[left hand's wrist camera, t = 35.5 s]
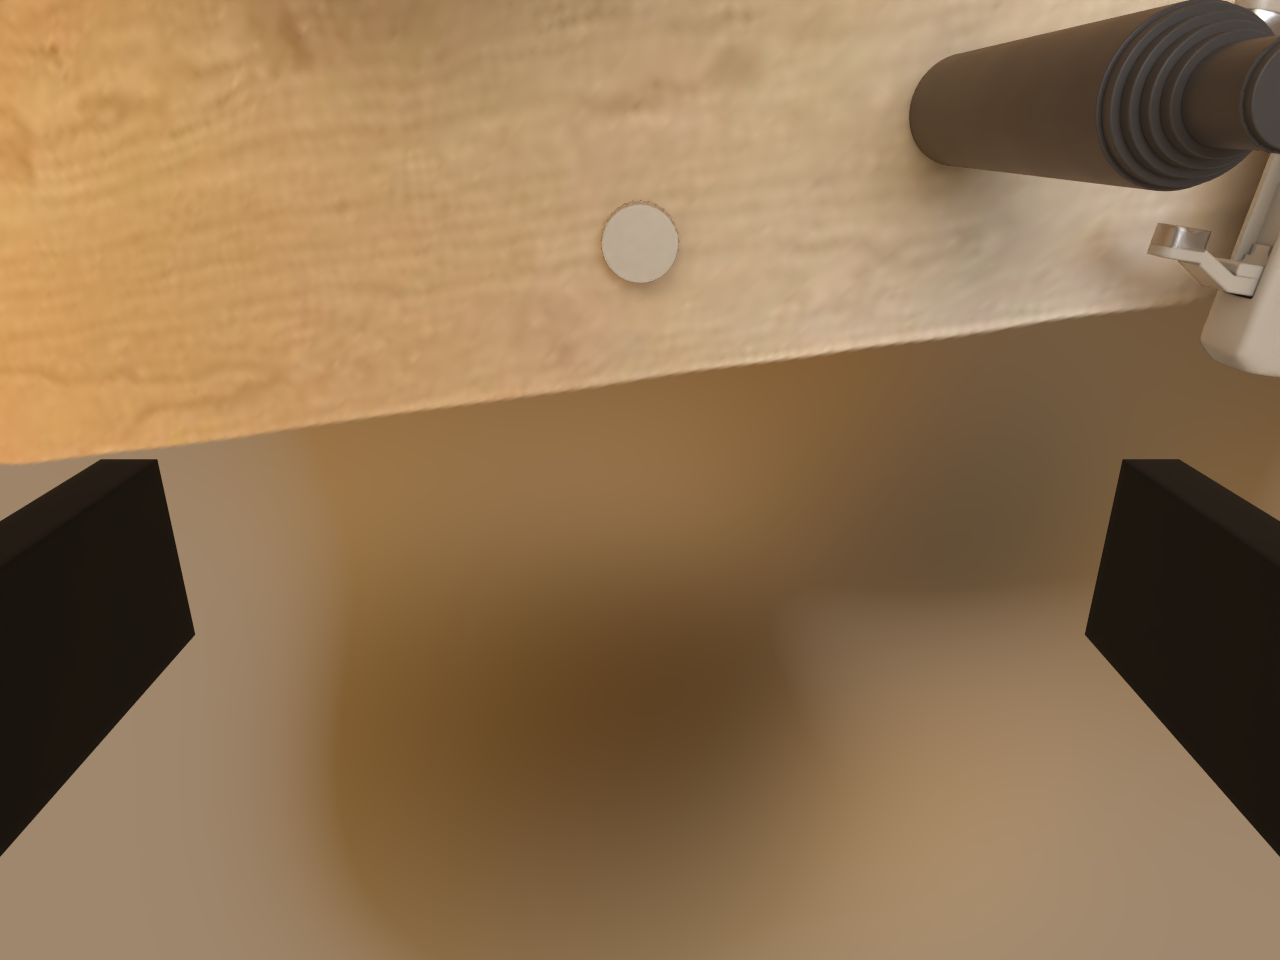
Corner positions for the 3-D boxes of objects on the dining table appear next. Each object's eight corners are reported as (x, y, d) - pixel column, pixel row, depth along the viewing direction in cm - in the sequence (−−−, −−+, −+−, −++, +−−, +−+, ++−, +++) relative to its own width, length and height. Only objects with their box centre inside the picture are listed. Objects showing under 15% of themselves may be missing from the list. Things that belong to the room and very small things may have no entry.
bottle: (981, 181, 46) (1329, 236, 23) (890, 141, 46) (1154, 156, 22) (1034, 78, 44) (1471, 23, 21) (940, 35, 44) (1285, -72, 20)
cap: (693, 241, 47) (695, 247, 45) (637, 292, 48) (637, 300, 46) (642, 183, 46) (642, 186, 44) (587, 236, 47) (584, 241, 45)
